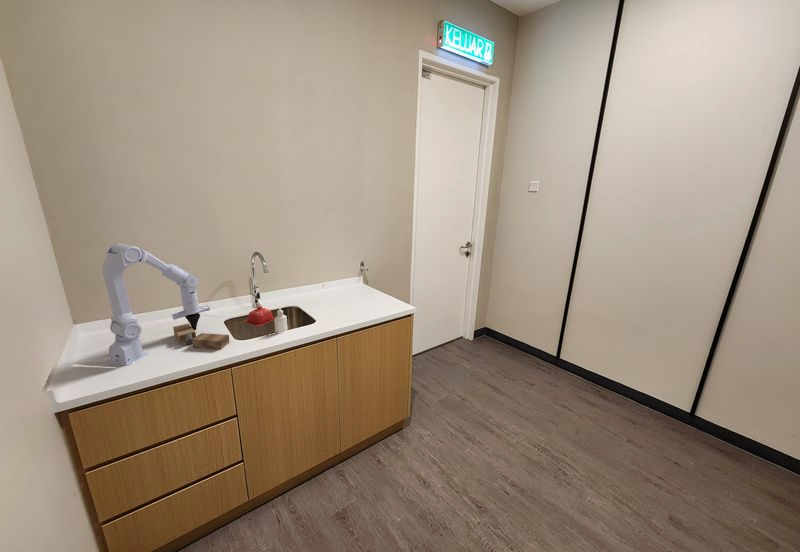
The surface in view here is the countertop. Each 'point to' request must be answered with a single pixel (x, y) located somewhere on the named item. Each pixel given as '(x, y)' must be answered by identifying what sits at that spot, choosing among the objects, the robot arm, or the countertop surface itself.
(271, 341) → the countertop surface
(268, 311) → the butter dish
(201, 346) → the oblong wooden brick
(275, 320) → the eye dropper bottle
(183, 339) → the swing leaf
